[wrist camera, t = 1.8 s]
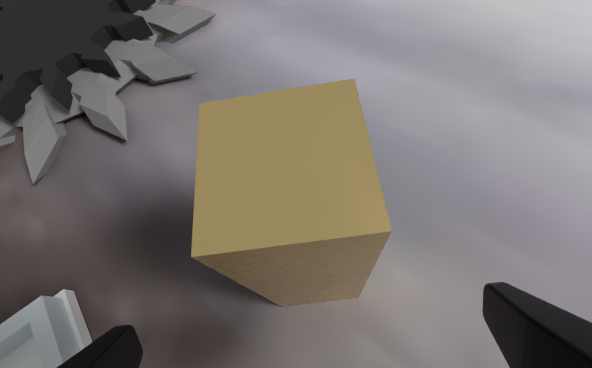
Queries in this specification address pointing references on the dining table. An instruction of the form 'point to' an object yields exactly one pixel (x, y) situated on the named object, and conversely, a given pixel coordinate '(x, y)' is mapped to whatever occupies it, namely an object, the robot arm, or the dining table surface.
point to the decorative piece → (81, 65)
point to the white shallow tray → (44, 333)
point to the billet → (289, 194)
